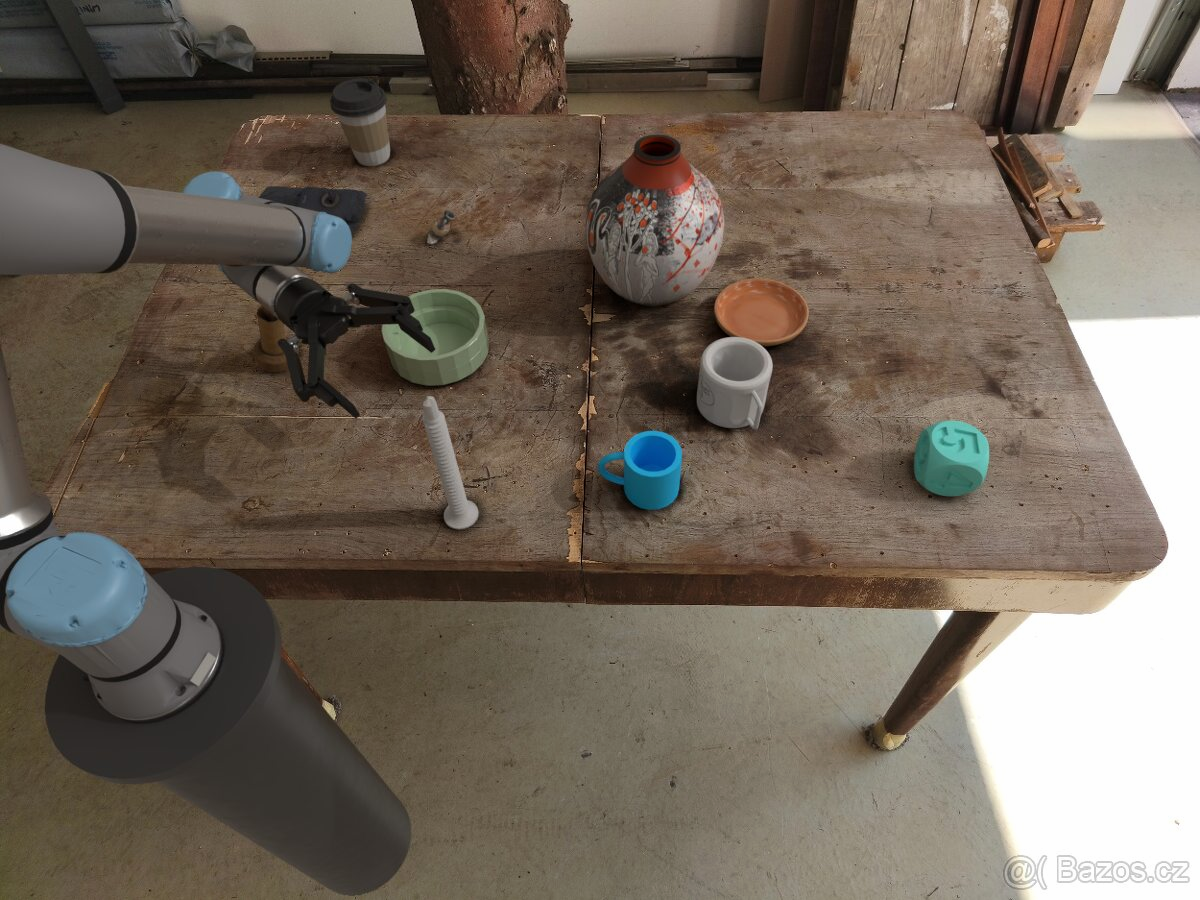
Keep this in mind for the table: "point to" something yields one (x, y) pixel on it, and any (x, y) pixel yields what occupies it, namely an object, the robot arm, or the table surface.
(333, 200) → the dark slate chunk
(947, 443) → the decorative dice
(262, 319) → the mortar and pestle
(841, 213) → the table surface
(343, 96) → the coffee cup
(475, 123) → the table surface
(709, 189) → the vase
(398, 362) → the bowl
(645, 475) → the mug
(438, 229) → the vase
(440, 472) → the screw
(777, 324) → the saucer
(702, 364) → the mug
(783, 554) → the table surface
